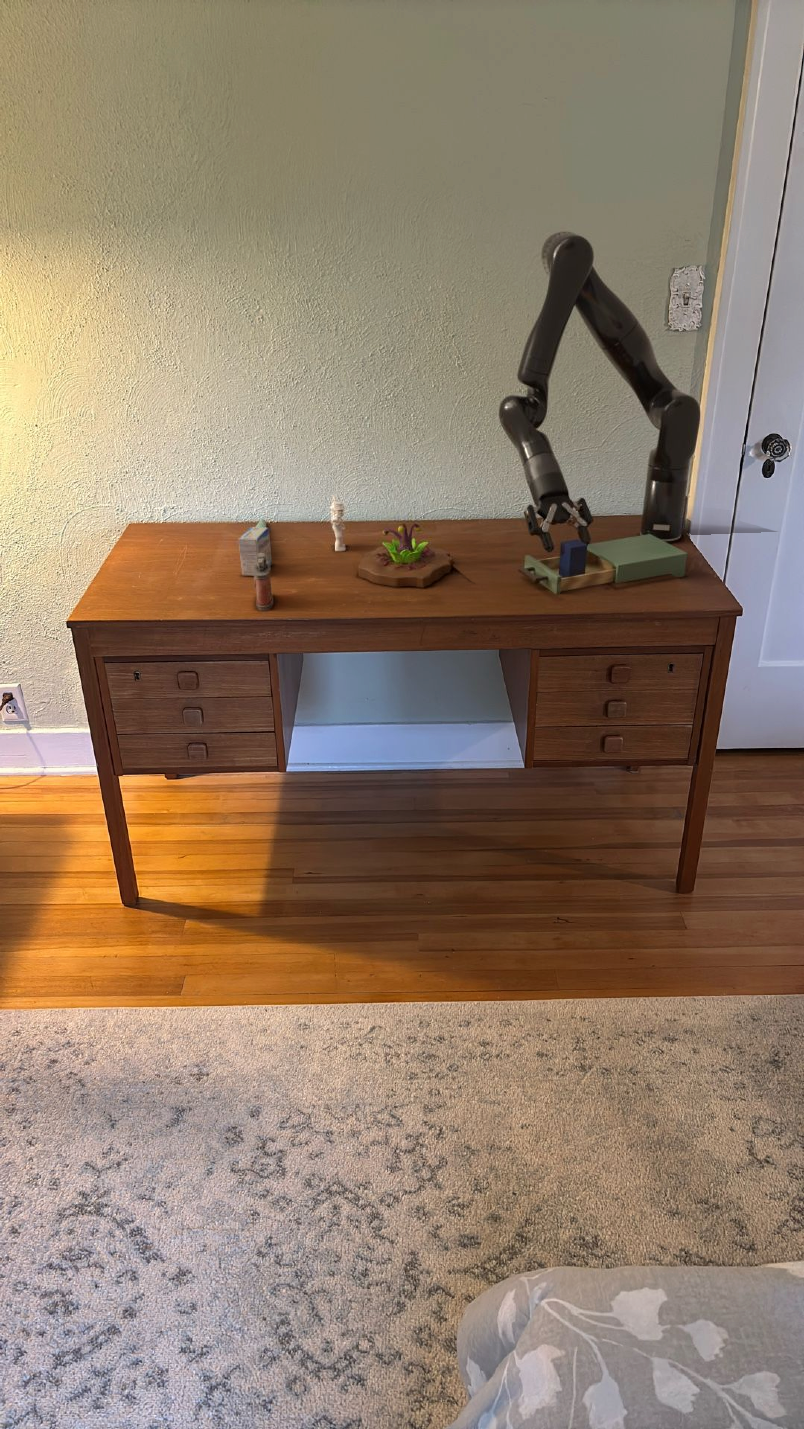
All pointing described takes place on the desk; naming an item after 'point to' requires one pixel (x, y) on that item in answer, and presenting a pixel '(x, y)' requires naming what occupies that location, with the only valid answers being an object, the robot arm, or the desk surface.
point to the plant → (405, 562)
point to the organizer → (641, 557)
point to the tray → (550, 578)
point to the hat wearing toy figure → (338, 523)
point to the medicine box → (254, 548)
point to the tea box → (572, 558)
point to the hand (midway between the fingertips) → (569, 547)
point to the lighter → (263, 583)
